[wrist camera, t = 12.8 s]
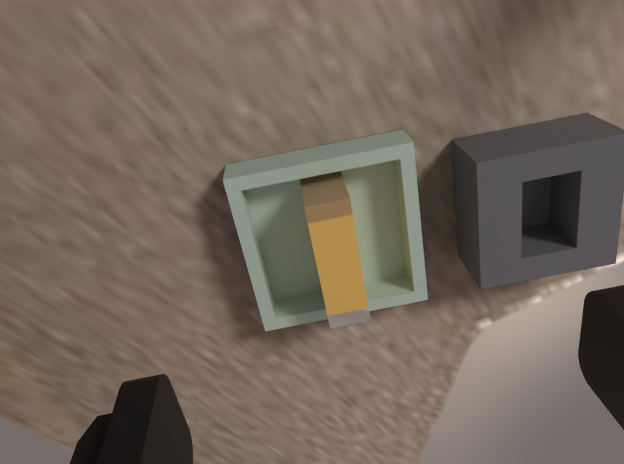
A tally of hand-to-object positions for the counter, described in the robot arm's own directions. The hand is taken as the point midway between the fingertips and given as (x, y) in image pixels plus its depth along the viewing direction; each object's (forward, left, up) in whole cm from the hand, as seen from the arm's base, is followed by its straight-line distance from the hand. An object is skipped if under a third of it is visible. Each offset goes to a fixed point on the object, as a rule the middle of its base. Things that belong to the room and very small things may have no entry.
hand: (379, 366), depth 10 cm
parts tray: (0, -11, -28) cm, 31 cm away
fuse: (0, -17, -25) cm, 30 cm away
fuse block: (+15, -11, -28) cm, 34 cm away
